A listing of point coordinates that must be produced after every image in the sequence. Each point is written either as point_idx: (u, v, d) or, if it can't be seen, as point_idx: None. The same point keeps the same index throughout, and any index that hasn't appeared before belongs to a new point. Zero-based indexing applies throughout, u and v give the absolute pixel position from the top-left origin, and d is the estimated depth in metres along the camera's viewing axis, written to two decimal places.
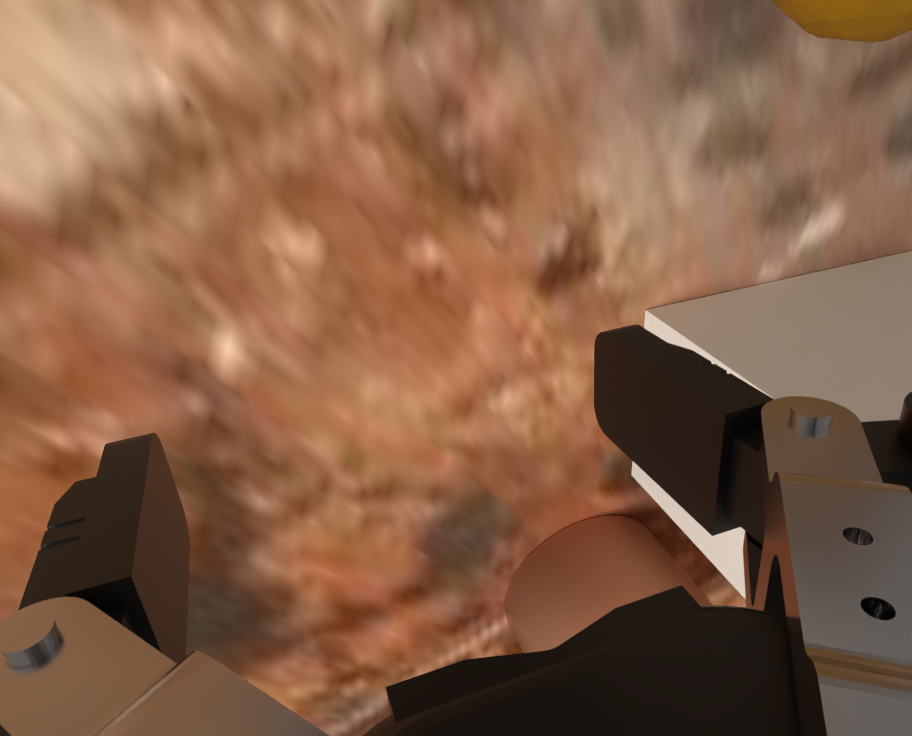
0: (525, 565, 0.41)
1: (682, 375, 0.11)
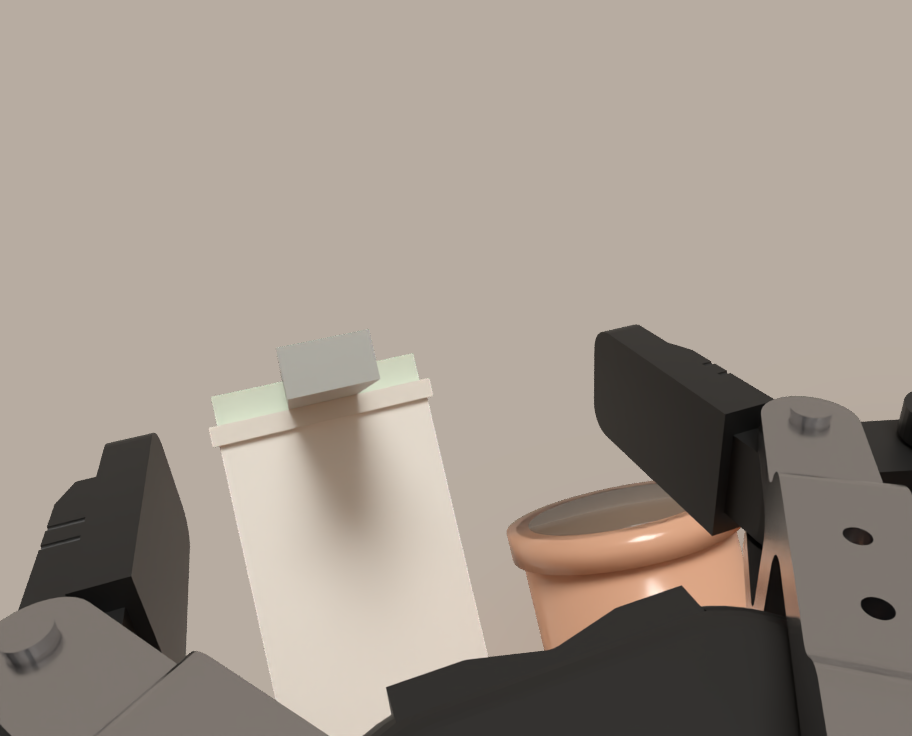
0: None
1: (682, 375, 0.11)
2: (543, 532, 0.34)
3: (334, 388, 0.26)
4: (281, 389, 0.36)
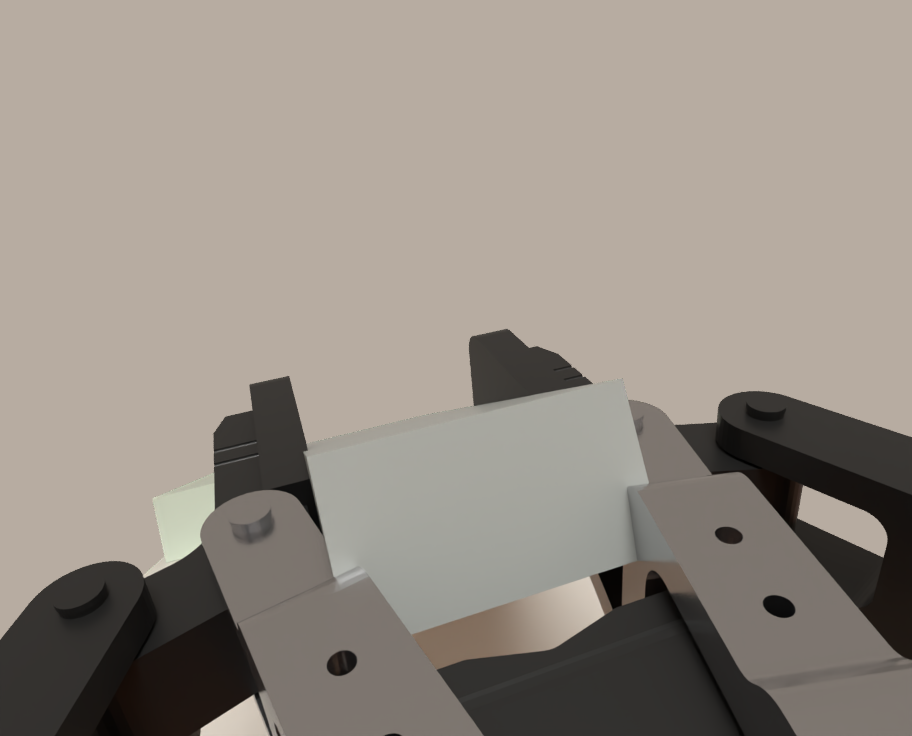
0: None
1: (528, 379, 0.11)
2: None
3: (516, 594, 0.07)
4: None
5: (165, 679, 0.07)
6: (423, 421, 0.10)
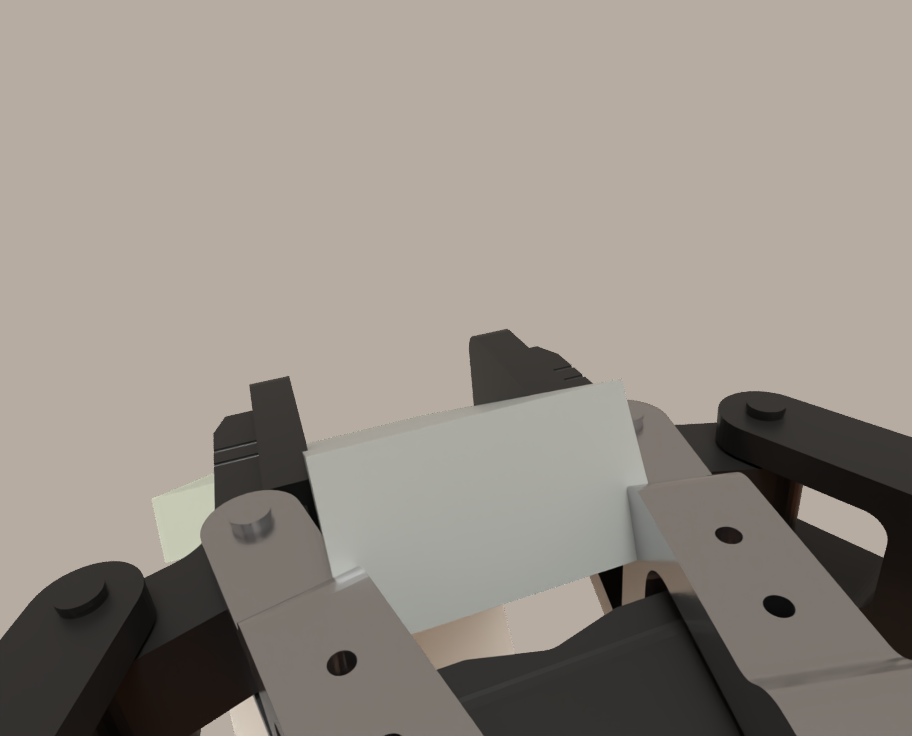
0: None
1: (528, 379, 0.11)
2: None
3: (515, 594, 0.07)
4: None
5: (165, 679, 0.07)
6: (422, 421, 0.10)
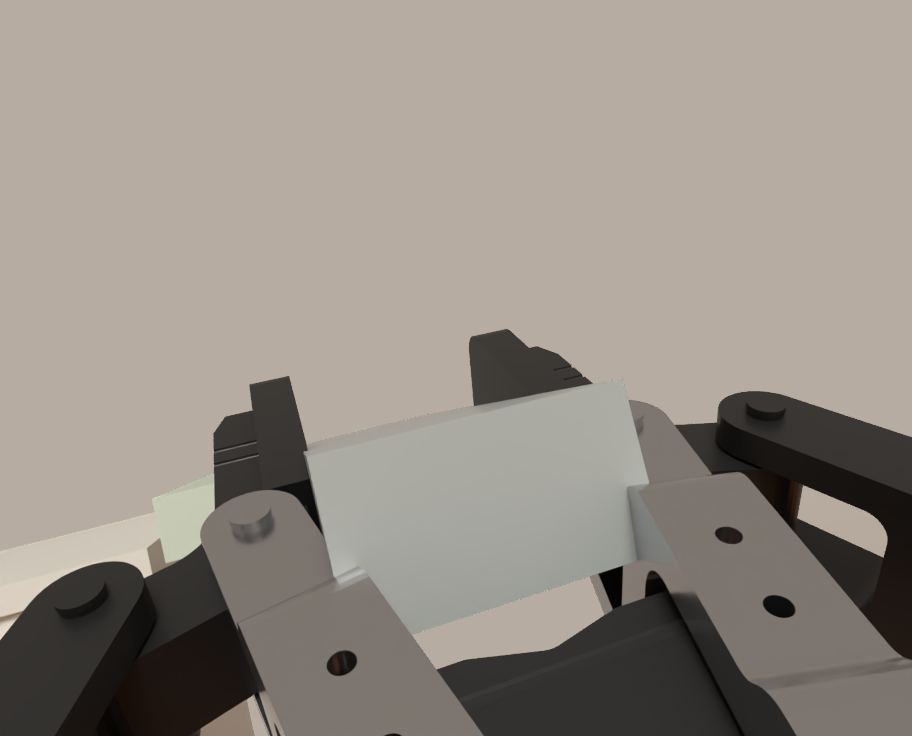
0: None
1: (528, 379, 0.11)
2: None
3: (516, 594, 0.07)
4: None
5: (165, 679, 0.07)
6: (423, 421, 0.10)
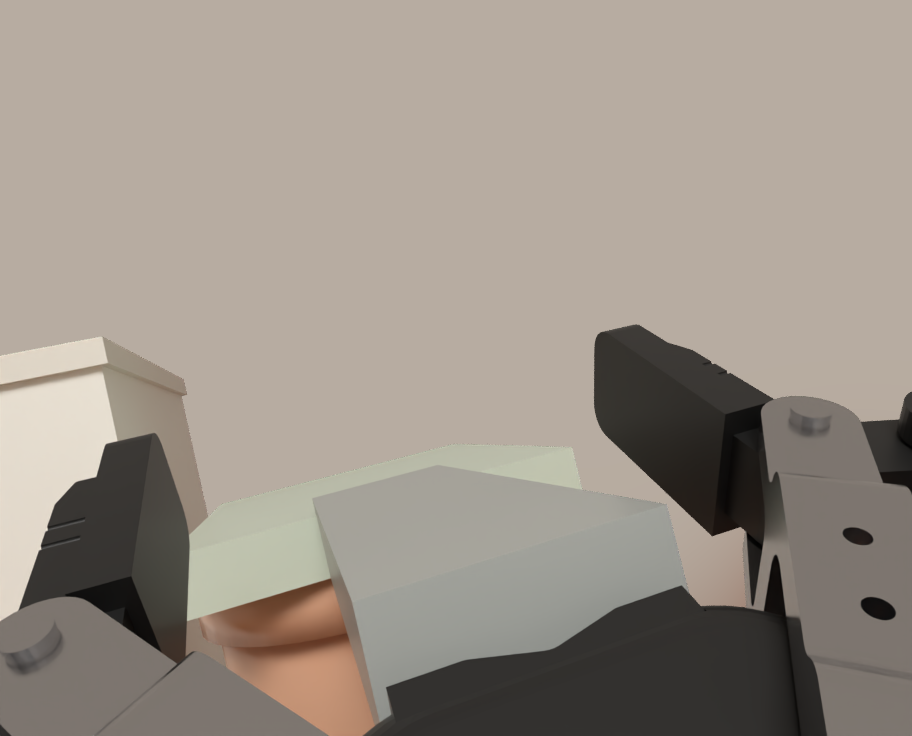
0: None
1: (682, 375, 0.11)
2: None
3: None
4: (315, 534, 0.17)
5: None
6: (452, 515, 0.10)
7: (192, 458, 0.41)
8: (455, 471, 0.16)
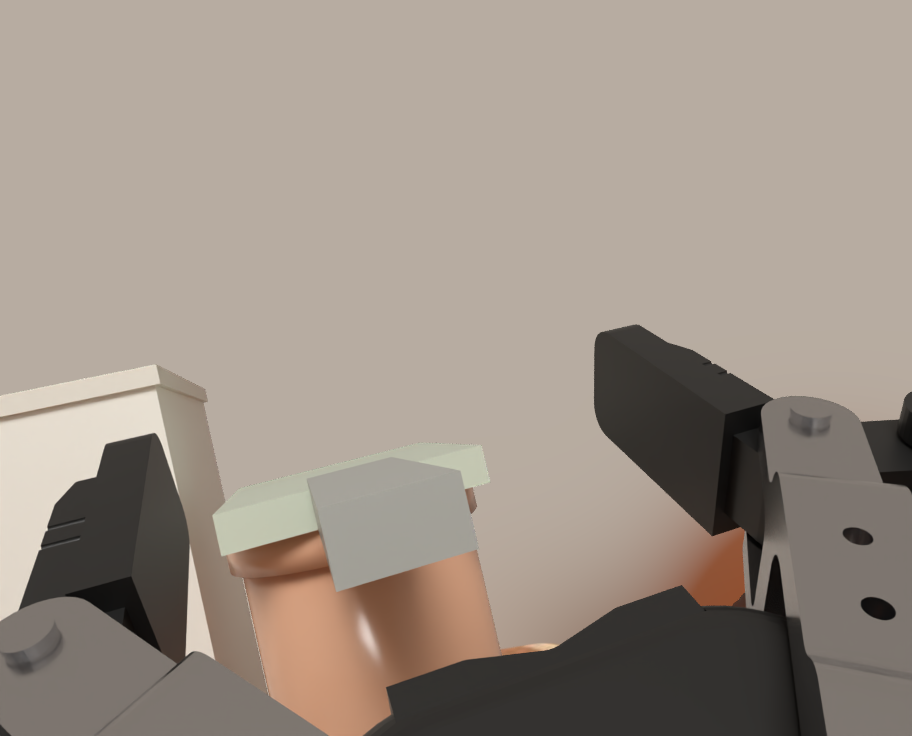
0: None
1: (682, 375, 0.11)
2: None
3: (408, 568, 0.16)
4: (308, 501, 0.26)
5: None
6: (376, 480, 0.19)
7: (212, 453, 0.50)
8: (397, 460, 0.25)
